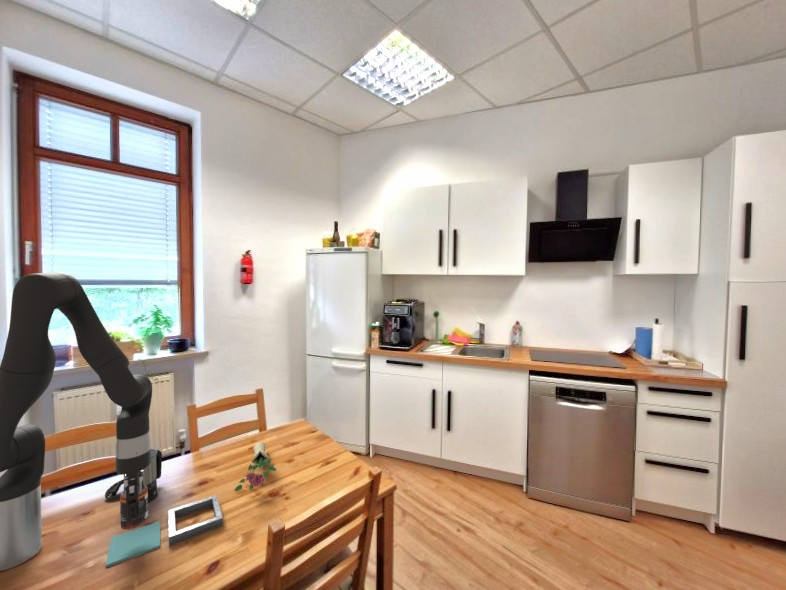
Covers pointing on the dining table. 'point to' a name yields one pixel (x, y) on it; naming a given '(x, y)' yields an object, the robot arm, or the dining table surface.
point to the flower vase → (259, 462)
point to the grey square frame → (197, 528)
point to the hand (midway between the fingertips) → (134, 511)
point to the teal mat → (133, 543)
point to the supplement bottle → (142, 509)
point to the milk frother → (148, 478)
